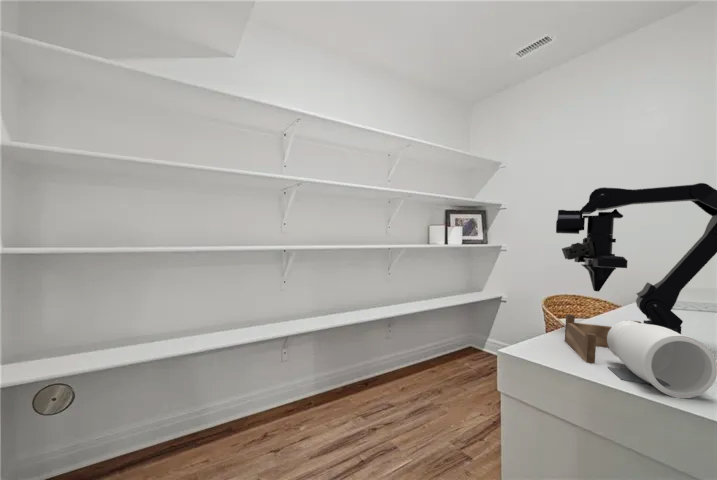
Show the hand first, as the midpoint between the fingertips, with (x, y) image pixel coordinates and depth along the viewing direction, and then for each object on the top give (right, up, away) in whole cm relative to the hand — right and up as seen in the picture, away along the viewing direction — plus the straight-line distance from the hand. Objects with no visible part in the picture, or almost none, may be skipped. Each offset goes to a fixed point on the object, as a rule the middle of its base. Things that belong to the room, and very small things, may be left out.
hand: (596, 291), depth 88 cm
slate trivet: (-11, -13, -26) cm, 31 cm away
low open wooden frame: (-7, -13, -15) cm, 21 cm away
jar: (-8, -7, -19) cm, 22 cm away
